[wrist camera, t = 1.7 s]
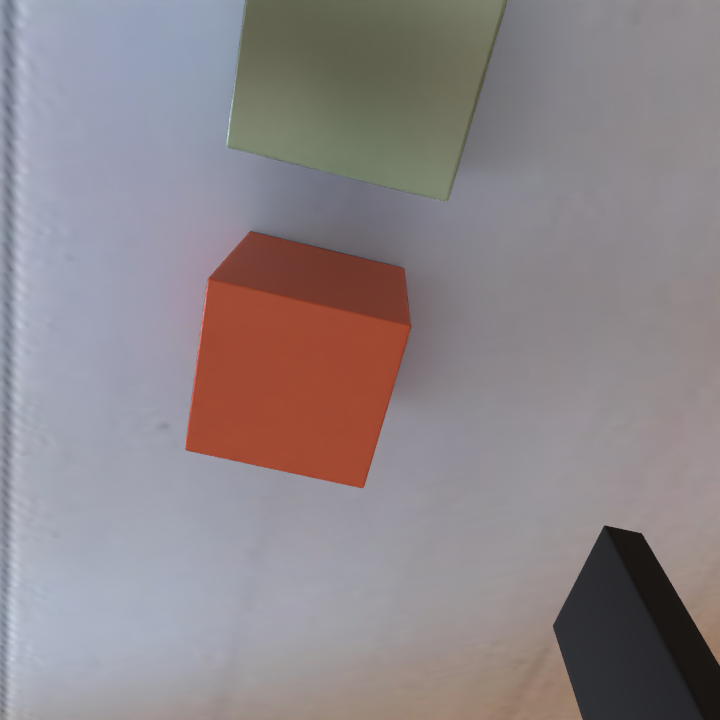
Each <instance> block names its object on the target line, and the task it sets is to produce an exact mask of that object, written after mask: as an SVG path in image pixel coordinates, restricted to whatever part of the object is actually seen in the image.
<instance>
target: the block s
mask: <svg viewBox="0 0 720 720" xmlns="http://www.w3.org/2000/svg"><path fill="white" fill-rule="evenodd" d="M410 329H411V323H410V315H409V306H408V297H407V289H406V280H405V271H404V269H403V268H400V267H396V266H392V265H388V264H384V263H380V262H376V261H372V260H367V259H363V258H359V257H355V256H351V255H347V254H343V253H338V252H334V251H330V250H326V249H322V248H318V247H314V246H309V245H305V244H301V243H297V242H293V241H289V240H285V239H280V238H276V237H272V236H268V235H264V234H260V233H256V232H249V233H248V234H247V235H246V236H245V238H244V239H243V240H242V241H241V242H240V243H239V244H238V245H237V247H236V248H235V249H234V250H233V251H232V252H231V253H230V254H229V256H228V257H227V258H226V259H225V260H224V261H223V262H222V263H221V265H220V266H219V267H218V268H217V269H216V270H215V271H214V272H213V274H212V275H211V276H210V277H209V278H208V280H207V287H206V294H205V302H204V309H203V317H202V324H201V332H200V339H199V347H198V354H197V362H196V369H195V377H194V384H193V392H192V399H191V406H190V414H189V421H188V429H187V436H186V444H185V450H187V451H192V452H196V453H201V454H206V455H210V456H215V457H219V458H224V459H229V460H233V461H238V462H243V463H247V464H252V465H257V466H261V467H266V468H271V469H275V470H280V471H285V472H289V473H294V474H298V475H303V476H308V477H312V478H317V479H322V480H326V481H331V482H336V483H340V484H345V485H350V486H354V487H359V488H363V487H364V485H365V482H366V478H367V475H368V472H369V468H370V465H371V462H372V458H373V455H374V451H375V448H376V445H377V441H378V438H379V434H380V431H381V428H382V424H383V421H384V417H385V414H386V411H387V407H388V404H389V400H390V397H391V394H392V390H393V387H394V383H395V380H396V377H397V373H398V370H399V367H400V363H401V360H402V356H403V353H404V350H405V346H406V343H407V339H408V336H409V333H410Z"/></svg>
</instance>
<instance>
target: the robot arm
mask: <svg viewBox="0 0 720 720" xmlns="http://www.w3.org/2000/svg"><path fill="white" fill-rule="evenodd" d="M553 628H554V631H555V634H556V637H557V641H558V644H559V647H560V650H561V653H562V656H563V659H564V662H565V666H566V669H567V672H568V675H569V678H570V681H571V684H572V687H573V691H574V694H575V697H576V700H577V703H578V706H579V709H580V712H581V715H582V719H583V720H720V666H719V664H718V662H717V661H716V659H715V657H714V656H713V654H712V652H711V650H710V649H709V647H708V645H707V644H706V642H705V640H704V638H703V637H702V635H701V633H700V632H699V630H698V628H697V627H696V625H695V623H694V621H693V620H692V618H691V616H690V615H689V613H688V611H687V610H686V608H685V606H684V604H683V603H682V601H681V599H680V598H679V596H678V594H677V593H676V591H675V589H674V587H673V586H672V584H671V582H670V581H669V579H668V577H667V576H666V574H665V572H664V570H663V569H662V567H661V565H660V564H659V562H658V560H657V559H656V557H655V555H654V553H653V552H652V550H651V548H650V547H649V545H648V543H647V541H646V540H645V538H644V536H643V535H642V533H637V532H633V531H628V530H623V529H619V528H614V527H609V526H605V525H604V527H603V529H602V531H601V533H600V535H599V537H598V539H597V541H596V543H595V545H594V547H593V549H592V551H591V553H590V555H589V556H588V558H587V560H586V562H585V564H584V566H583V568H582V570H581V572H580V574H579V576H578V578H577V580H576V582H575V584H574V586H573V588H572V590H571V592H570V594H569V596H568V597H567V599H566V601H565V603H564V605H563V607H562V609H561V611H560V613H559V615H558V617H557V619H556V621H555V623H554V625H553Z"/></svg>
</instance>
